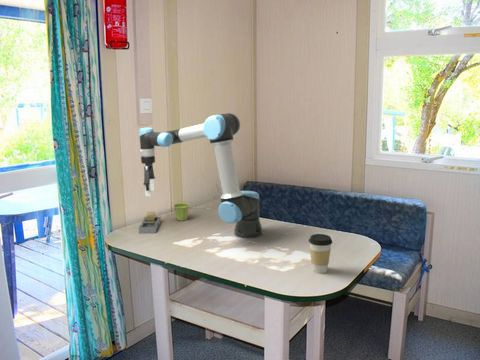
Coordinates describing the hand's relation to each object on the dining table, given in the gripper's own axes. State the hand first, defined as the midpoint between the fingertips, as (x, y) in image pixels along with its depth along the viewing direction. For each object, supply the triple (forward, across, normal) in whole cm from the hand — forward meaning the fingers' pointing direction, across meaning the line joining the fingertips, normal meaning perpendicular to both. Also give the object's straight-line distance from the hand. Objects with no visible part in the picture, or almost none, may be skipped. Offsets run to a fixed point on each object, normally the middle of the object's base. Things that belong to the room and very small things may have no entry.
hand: (150, 193), depth 257 cm
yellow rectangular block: (+19, 0, 0) cm, 19 cm away
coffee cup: (+19, +70, +82) cm, 109 cm away
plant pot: (+19, -9, +16) cm, 26 cm away
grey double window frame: (+19, +5, 0) cm, 19 cm away
